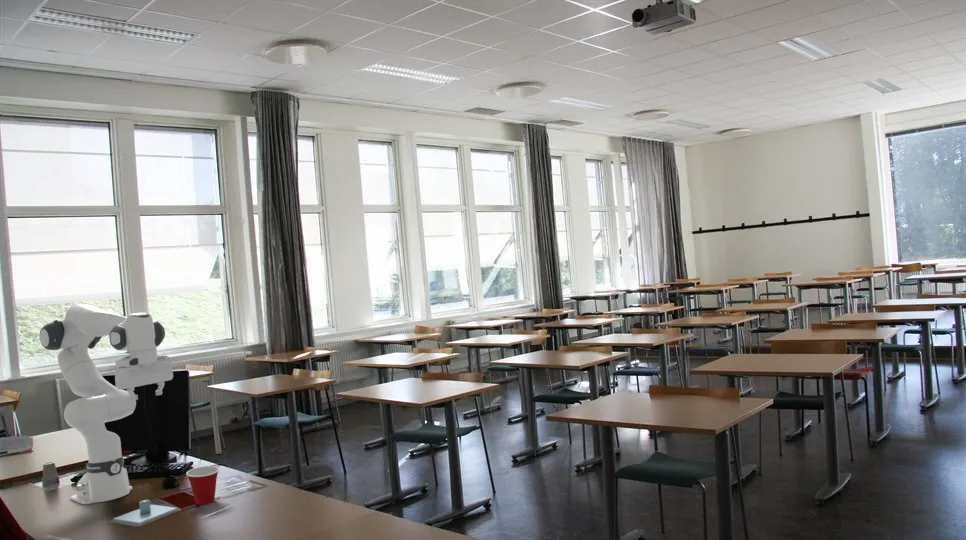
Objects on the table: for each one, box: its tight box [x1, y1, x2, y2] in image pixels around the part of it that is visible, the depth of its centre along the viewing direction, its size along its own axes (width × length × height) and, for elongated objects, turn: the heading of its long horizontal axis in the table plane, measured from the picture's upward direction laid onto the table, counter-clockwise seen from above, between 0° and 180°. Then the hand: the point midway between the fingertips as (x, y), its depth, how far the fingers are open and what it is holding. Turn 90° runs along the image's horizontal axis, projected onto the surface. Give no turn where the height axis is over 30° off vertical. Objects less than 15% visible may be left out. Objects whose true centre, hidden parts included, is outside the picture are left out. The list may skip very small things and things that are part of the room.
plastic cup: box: [186, 465, 220, 506], centre depth 240 cm, size 11×11×12 cm
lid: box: [112, 499, 179, 526], centre depth 231 cm, size 14×14×5 cm
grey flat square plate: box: [108, 508, 182, 528], centre depth 230 cm, size 16×16×1 cm
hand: (147, 397), depth 241 cm, fingers open, 8 cm apart
